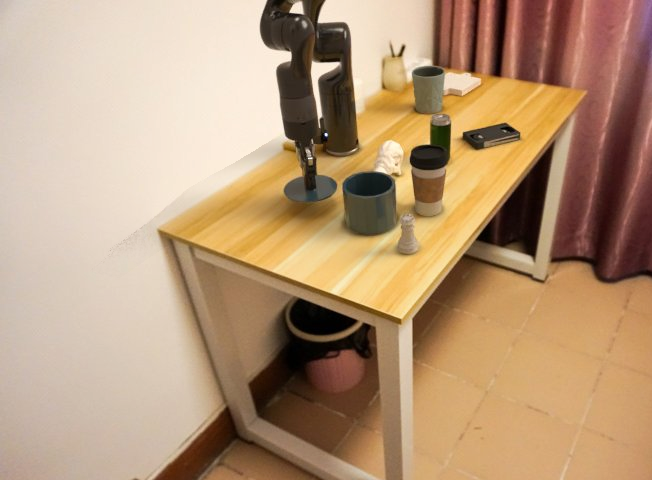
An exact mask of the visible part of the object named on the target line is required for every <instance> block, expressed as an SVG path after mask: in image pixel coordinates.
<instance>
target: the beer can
mask: <svg viewBox="0 0 652 480" xmlns="http://www.w3.org/2000/svg"><path fill="white" fill-rule="evenodd" d="M429 144H431V145H439V146H443V147H445V148H446V150H447V156H448V163H449V162H450V160H451V145H452V119H451V116H450V115H449V114H447V113H434V114H433V115H431V116H430V121H429Z"/></svg>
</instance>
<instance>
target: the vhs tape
mask: <svg viewBox="0 0 652 480" xmlns="http://www.w3.org/2000/svg"><path fill="white" fill-rule="evenodd" d="M462 140H463V141H464V142H466V143H467V144H468V145H470V146H471V147H472V148H474V149H475V150H482V149H486V148H491V147H495V146H498V145H502V144H503V145H504V144H506V143H507V144H508V143H511V142H516V141H519V140H521V132H520V131H519V130H518V129H516V128H515V127H513V126H512V125H510V124H509V123H507V122H501V123H497V124H493V125H489V126H485V127H480V128H476V129H472V130H471V129H470V130H467V131H462Z"/></svg>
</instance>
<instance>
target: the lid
mask: <svg viewBox="0 0 652 480" xmlns="http://www.w3.org/2000/svg"><path fill="white" fill-rule="evenodd" d="M303 172H304V171H303V167H302V168H301V173H303ZM315 180H316V188H315V189H311V190H308V189H307V188H306V182H305V176H304V174H302V175H301V176H298V177H295V178H293V179H291V180H289V181H288V182H287V183H286V184H285V185H284V187H283V196H284V197H285V198H286V199H288V200H289V201H291V202H293V203H294V202H295V203H299V204H315V203H318V202H322V201H326V200H327V199H329V198H331V197H332V196H334V195H335V194H336V193H337V190H338V183H337V181H336V179H334V178H333V177H331V176H329V175H324V174H317V175H315Z"/></svg>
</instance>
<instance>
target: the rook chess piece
mask: <svg viewBox="0 0 652 480" xmlns="http://www.w3.org/2000/svg"><path fill="white" fill-rule="evenodd" d="M399 223H400V229H401V233H400V234H401V235H400V237H399V239H398V240H397V250H398V251H399V252H400V253H401V254H404V255H412V254H414V253H416V252H417V251H418V250H419V248H420V247H419V240H418V239H417V237H416V235H415V225H414V224H415V223H416V219H415V217H414V215H413V214H412V213H411V214H410V213H406V214H405V213H403V214H402V215H401V216H400V219H399Z"/></svg>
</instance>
